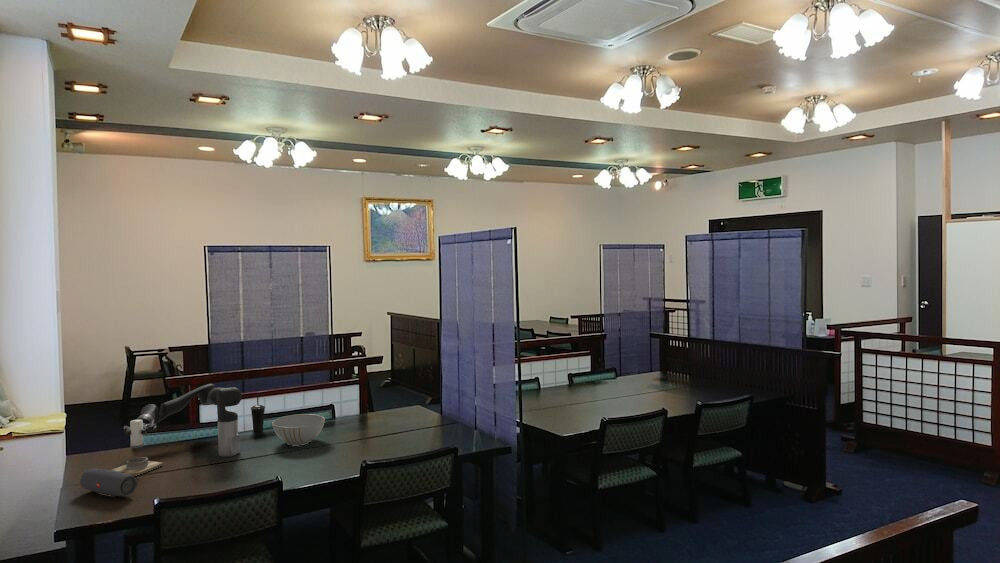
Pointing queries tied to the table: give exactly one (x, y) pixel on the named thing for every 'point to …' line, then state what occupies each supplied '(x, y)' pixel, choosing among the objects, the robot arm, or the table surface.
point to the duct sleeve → (136, 433)
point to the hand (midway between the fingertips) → (135, 433)
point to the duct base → (138, 471)
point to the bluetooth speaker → (108, 482)
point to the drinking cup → (258, 417)
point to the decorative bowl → (298, 428)
